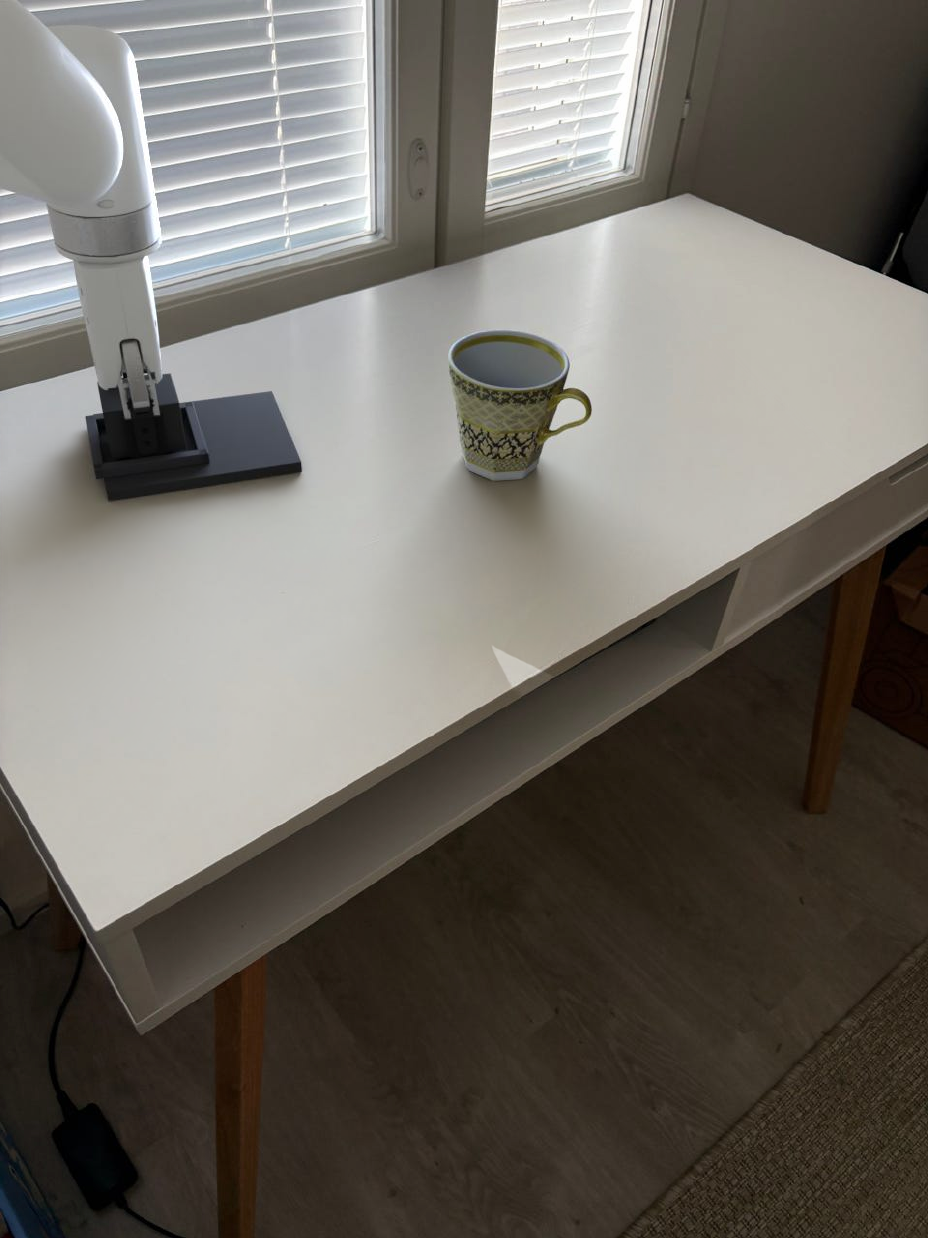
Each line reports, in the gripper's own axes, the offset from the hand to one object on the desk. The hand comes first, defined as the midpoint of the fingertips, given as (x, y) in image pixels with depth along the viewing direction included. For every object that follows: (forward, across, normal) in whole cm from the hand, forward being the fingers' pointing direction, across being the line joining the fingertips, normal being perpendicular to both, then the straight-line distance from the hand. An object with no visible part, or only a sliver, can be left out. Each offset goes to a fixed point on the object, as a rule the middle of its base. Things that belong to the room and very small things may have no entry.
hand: (144, 434), depth 86 cm
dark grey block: (0, 0, 0) cm, 0 cm away
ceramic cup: (+2, +10, +30) cm, 32 cm away
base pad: (+2, 0, +4) cm, 5 cm away
